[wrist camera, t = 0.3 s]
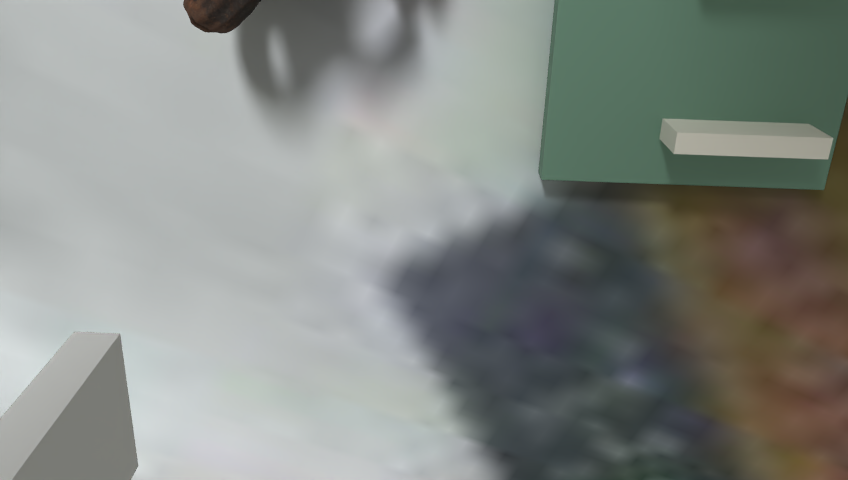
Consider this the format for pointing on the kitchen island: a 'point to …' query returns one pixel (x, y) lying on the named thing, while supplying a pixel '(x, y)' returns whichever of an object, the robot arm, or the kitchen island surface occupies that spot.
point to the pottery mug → (218, 13)
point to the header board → (695, 92)
